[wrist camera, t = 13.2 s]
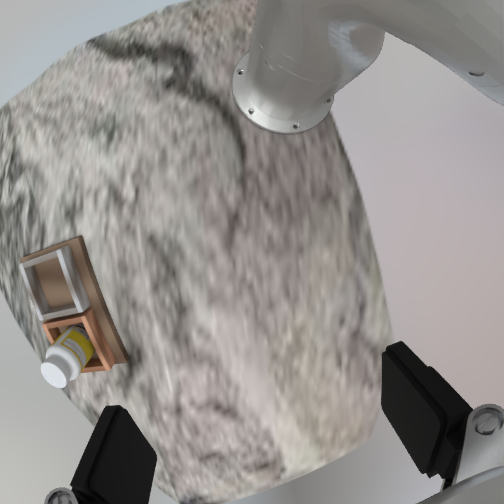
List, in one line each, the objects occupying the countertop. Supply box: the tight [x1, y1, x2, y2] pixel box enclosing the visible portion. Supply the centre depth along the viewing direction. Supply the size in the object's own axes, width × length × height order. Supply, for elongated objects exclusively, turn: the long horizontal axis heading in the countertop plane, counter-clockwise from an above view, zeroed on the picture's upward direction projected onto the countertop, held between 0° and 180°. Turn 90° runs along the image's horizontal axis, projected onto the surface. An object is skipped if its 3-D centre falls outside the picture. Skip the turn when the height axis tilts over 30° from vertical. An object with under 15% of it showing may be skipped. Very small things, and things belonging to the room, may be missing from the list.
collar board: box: [19, 236, 129, 373], centre depth 35 cm, size 19×12×4 cm, turn 13°
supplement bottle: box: [41, 324, 95, 388], centre depth 32 cm, size 5×5×10 cm
